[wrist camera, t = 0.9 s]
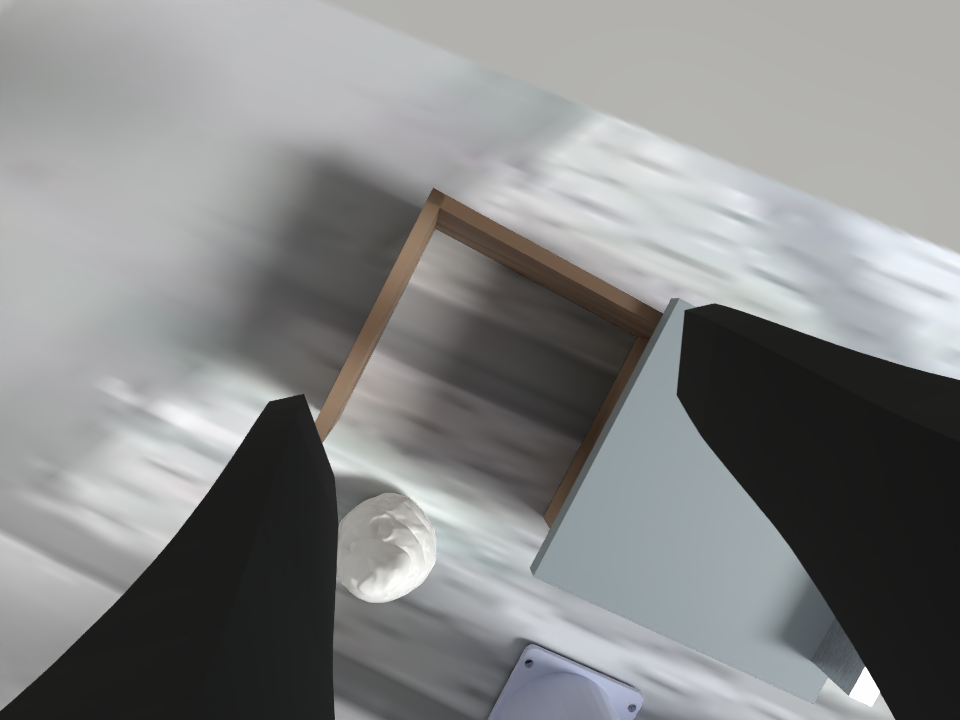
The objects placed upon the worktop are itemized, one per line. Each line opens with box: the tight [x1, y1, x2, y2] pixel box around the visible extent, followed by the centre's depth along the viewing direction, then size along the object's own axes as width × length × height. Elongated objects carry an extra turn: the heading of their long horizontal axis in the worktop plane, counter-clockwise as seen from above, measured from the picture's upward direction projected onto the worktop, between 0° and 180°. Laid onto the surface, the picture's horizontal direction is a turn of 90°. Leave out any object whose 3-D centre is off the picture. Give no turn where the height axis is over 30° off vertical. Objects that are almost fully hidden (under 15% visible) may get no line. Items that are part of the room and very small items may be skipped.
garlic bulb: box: [337, 493, 436, 603], centre depth 29 cm, size 6×6×5 cm
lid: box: [530, 298, 880, 706], centre depth 25 cm, size 14×15×3 cm
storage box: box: [315, 188, 663, 529], centre depth 28 cm, size 12×14×6 cm
